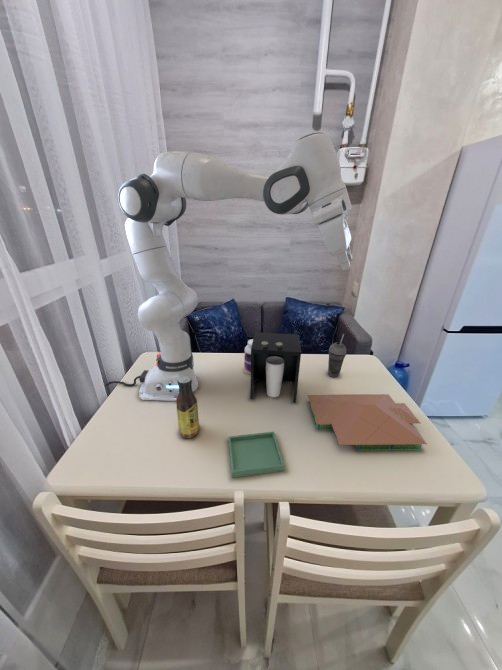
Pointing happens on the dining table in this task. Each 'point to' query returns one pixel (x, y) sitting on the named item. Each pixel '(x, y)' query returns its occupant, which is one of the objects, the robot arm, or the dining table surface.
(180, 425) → the sauce bottle
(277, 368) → the drinking glass
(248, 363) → the pill bottle
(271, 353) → the black coffee maker
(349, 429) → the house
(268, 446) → the tray
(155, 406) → the dining table surface
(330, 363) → the beverage cup
